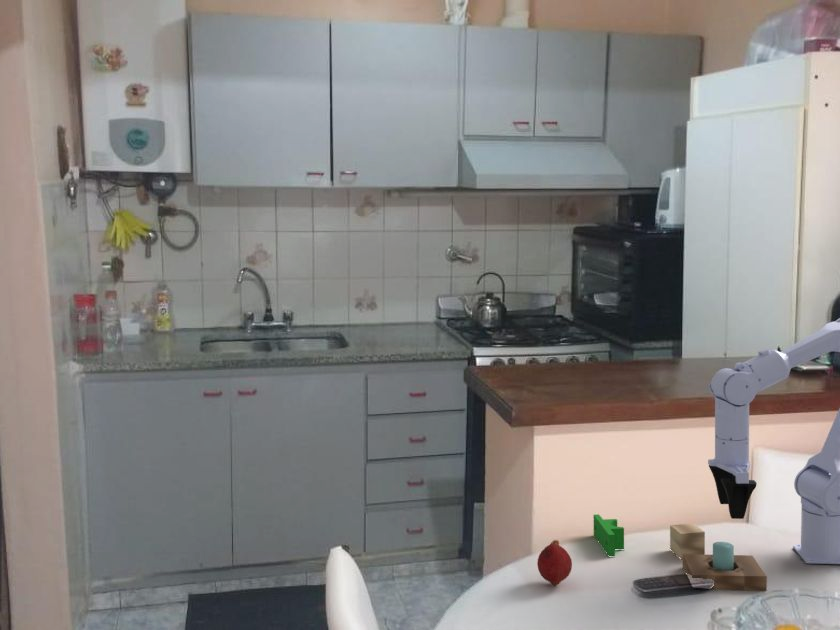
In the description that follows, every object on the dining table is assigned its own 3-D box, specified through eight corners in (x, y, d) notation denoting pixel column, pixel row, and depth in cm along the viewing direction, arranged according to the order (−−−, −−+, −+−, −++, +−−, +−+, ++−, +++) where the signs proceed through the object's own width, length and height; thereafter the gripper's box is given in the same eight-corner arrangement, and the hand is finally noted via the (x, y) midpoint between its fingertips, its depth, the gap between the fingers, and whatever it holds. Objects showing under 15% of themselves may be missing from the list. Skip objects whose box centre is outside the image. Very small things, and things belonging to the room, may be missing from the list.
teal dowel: (729, 574, 150) (729, 541, 149) (736, 582, 146) (736, 548, 146) (710, 575, 150) (710, 542, 149) (716, 583, 146) (716, 549, 146)
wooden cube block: (693, 548, 162) (693, 523, 161) (704, 558, 157) (704, 531, 157) (670, 550, 161) (670, 525, 161) (680, 560, 157) (681, 533, 156)
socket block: (752, 569, 152) (752, 555, 152) (766, 590, 143) (766, 576, 143) (682, 567, 153) (682, 554, 153) (692, 589, 144) (692, 574, 144)
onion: (550, 594, 144) (550, 548, 143) (531, 582, 149) (530, 538, 148) (578, 587, 146) (578, 542, 145) (558, 575, 151) (557, 531, 151)
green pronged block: (628, 557, 159) (628, 533, 158) (608, 558, 159) (608, 534, 158) (612, 535, 170) (612, 513, 170) (593, 536, 170) (593, 514, 169)
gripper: (699, 427, 160) (699, 497, 161) (718, 447, 145) (718, 524, 147) (738, 426, 159) (738, 497, 160) (761, 447, 145) (761, 524, 146)
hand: (731, 510), depth 154 cm, fingers open, 7 cm apart
